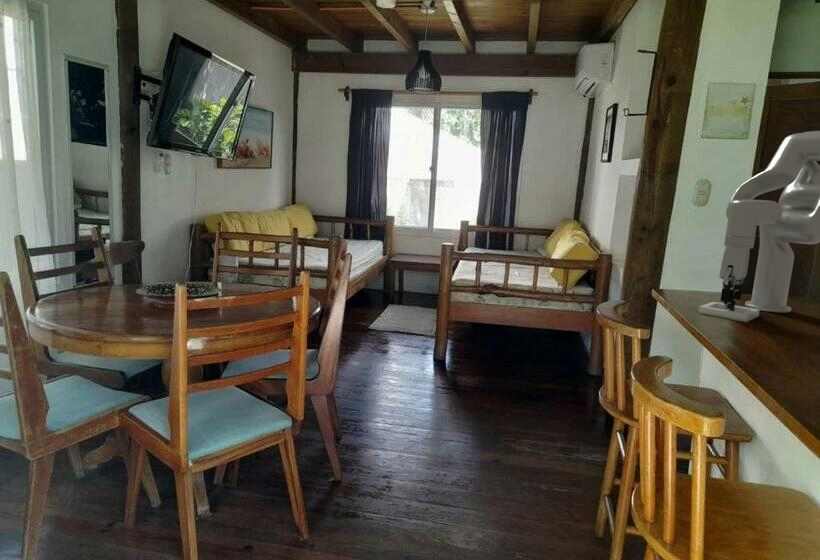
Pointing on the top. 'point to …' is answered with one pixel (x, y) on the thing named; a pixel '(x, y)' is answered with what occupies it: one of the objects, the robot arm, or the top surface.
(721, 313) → the socket plate
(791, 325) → the top surface
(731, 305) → the push button
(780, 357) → the top surface
